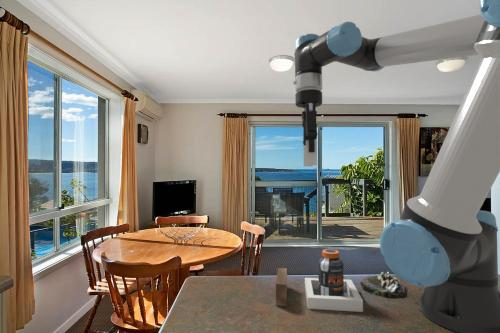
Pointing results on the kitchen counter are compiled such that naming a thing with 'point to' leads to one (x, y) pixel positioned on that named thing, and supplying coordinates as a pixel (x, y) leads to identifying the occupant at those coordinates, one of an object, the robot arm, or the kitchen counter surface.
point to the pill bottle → (331, 274)
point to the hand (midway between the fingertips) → (309, 166)
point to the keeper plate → (333, 297)
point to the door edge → (281, 287)
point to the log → (383, 286)
